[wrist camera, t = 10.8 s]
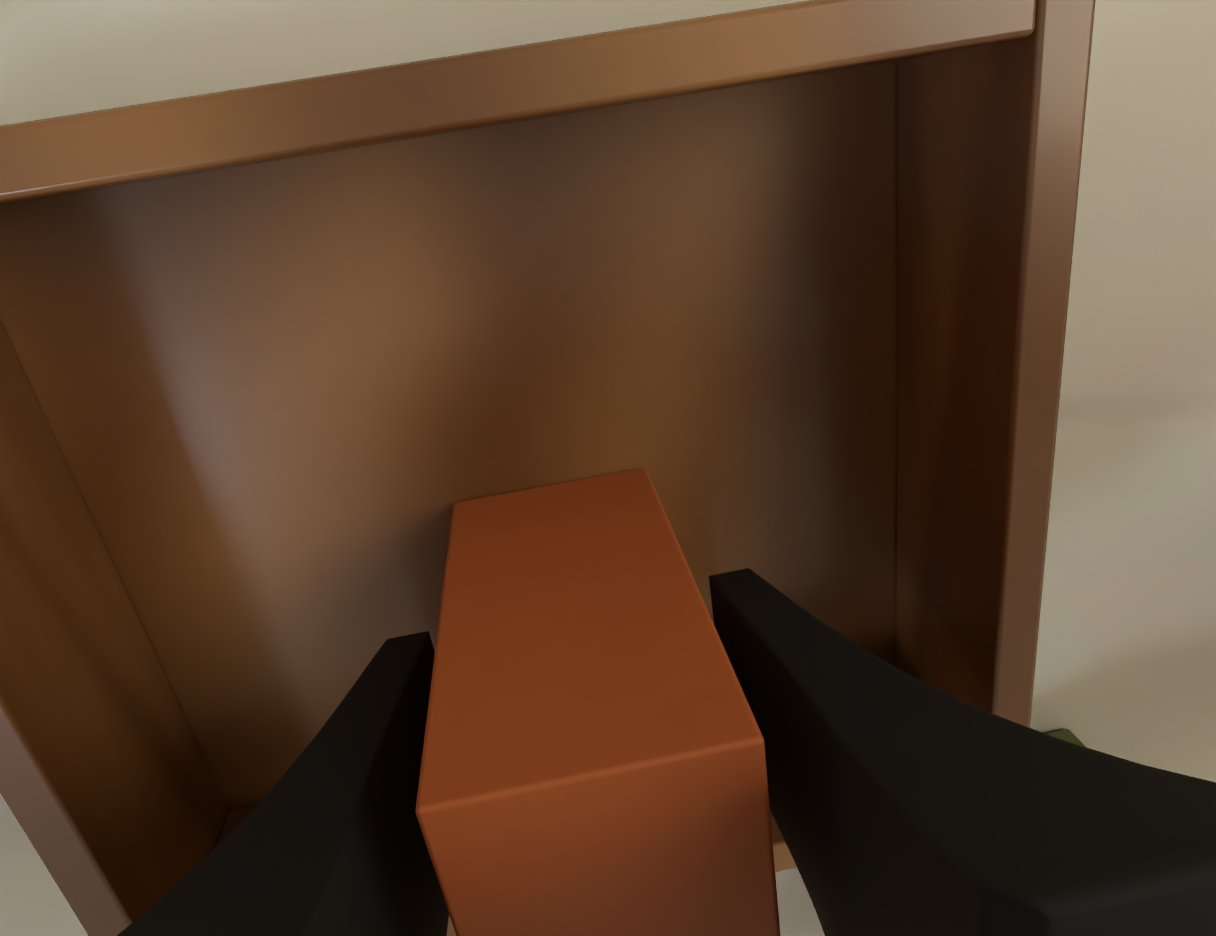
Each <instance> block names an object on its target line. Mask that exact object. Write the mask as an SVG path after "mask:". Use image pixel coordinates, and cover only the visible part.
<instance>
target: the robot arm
mask: <svg viewBox="0 0 1216 936" xmlns="http://www.w3.org/2000/svg"><path fill="white" fill-rule="evenodd" d="M709 584H710V593H711V602H712V611H713V620H714V626H715V628H716V630H717V633H718V635H719V637H720V640H721V642H722V644H723V647H724V649H725V651H726V653H727V656H728V658H729V660H730V663H731V665H732V667H733V670H734V672H735V674H736V676H737V679H738V681H739V683H740V686H741V688H742V690H743V692H744V695H745V697H746V699H747V702H748V704H749V706H750V709H751V711H752V713H753V715H754V718H755V720H756V722H757V725H758V727H759V729H760V732H761V734H762V736H763V738H764V745H765V758H766V770H767V782H768V794H769V806H770V811H771V813H772V815H773V817H774V819H775V821H776V823H777V825H778V828H779V830H780V832H781V834H782V836H783V838H784V840H785V842H786V845H787V847H788V849H789V851H790V853H791V855H792V857H793V860H794V862H795V864H796V866H797V868H798V870H799V872H800V874H801V877H802V879H803V881H804V883H805V886H806V888H807V891H808V893H809V895H810V898H811V900H812V902H813V905H814V907H815V910H816V912H817V915H818V918H819V920H820V923H821V926H822V929H823V932H824V934H825V936H1216V783H1215V782H1211V781H1207V780H1202V779H1198V778H1194V777H1190V776H1186V775H1182V774H1178V773H1174V772H1170V771H1166V770H1161V769H1157V768H1153V767H1149V766H1145V765H1142V764H1138V763H1135V762H1131V761H1128V760H1125V759H1121V758H1118V757H1115V756H1112V755H1108V754H1105V753H1102V752H1099V751H1095V750H1092V749H1089V748H1086V747H1082V746H1079V745H1076V744H1073V743H1070V742H1067V741H1064V740H1062V739H1059V738H1056V737H1053V736H1050V735H1047V734H1044V733H1041V732H1039V731H1036V730H1033V729H1031V728H1028V727H1026V726H1023V725H1020V724H1018V723H1015V722H1013V721H1010V720H1008V719H1005V718H1003V717H1000V716H997V715H995V714H992V713H990V712H987V711H985V710H983V709H980V708H978V707H976V706H973V705H971V704H969V703H966V702H964V701H962V700H960V699H958V698H956V697H953V696H951V695H949V694H947V693H945V692H943V691H941V690H939V689H937V688H935V687H933V686H931V685H929V684H927V683H925V682H922V681H920V680H918V679H916V678H914V677H913V676H911V675H909V674H907V673H905V672H903V671H901V670H899V669H898V668H896V667H894V666H892V665H891V664H889V663H887V662H885V661H884V660H882V659H880V658H879V657H877V656H875V655H873V654H872V653H870V652H868V651H867V650H865V649H863V648H862V647H860V646H858V645H857V644H855V643H854V642H852V641H850V640H849V639H847V638H846V637H844V636H843V635H841V634H840V633H838V632H837V631H835V630H834V629H832V628H831V627H829V626H828V625H826V624H825V623H823V622H822V621H820V620H819V619H817V618H816V617H815V616H813V615H812V614H810V613H809V612H808V611H806V610H805V609H803V608H802V607H801V606H799V605H798V604H797V603H795V602H794V601H793V600H791V599H790V598H788V597H787V596H786V595H784V594H783V593H782V592H780V591H779V590H778V589H776V588H775V587H774V586H772V585H771V584H770V583H768V582H767V581H766V580H764V579H763V578H762V577H760V576H759V575H758V574H756V573H755V572H753V571H752V570H751V569H749V568H746V569H741V570H736V571H731V572H726V573H721V574H716V575H711V576H709ZM434 656H435V651H434V648H433V644H432V641H431V637H430V634H429V631H425V632H420V633H415V634H410V635H405V636H400V637H395V638H390V639H387V640H386V641H385V642H384V644H383V645H382V646H381V648H380V649H379V650H378V652H377V653H376V654H375V656H374V657H373V658H372V660H371V661H370V663H369V664H368V665H367V667H366V668H365V670H364V671H363V672H362V674H361V675H360V677H359V678H358V679H357V681H356V682H355V684H354V685H353V686H352V688H351V689H350V690H349V692H348V693H347V695H346V696H345V697H344V699H343V700H342V702H341V703H340V704H339V706H338V707H337V708H336V710H335V711H334V712H333V714H332V715H331V716H330V718H329V719H328V720H327V722H326V723H325V724H324V726H323V727H322V728H321V729H320V731H319V732H318V733H317V735H316V736H315V737H314V739H313V740H312V741H311V742H310V744H309V745H308V746H307V747H306V748H305V750H304V751H303V752H302V753H301V754H300V756H299V757H298V758H297V759H296V760H295V762H294V763H293V764H292V765H291V766H290V768H289V769H288V770H287V771H286V772H285V774H284V775H283V776H282V777H281V778H280V780H279V781H278V782H277V783H276V784H275V786H274V787H273V788H272V789H271V790H270V791H269V792H268V794H267V795H266V796H265V797H264V798H263V799H262V800H261V801H260V802H259V804H258V805H257V806H256V807H255V808H254V809H253V810H252V811H251V812H250V813H249V814H248V815H247V816H246V817H245V818H244V820H243V821H242V822H241V823H240V824H239V825H238V826H237V827H236V828H235V829H234V830H233V831H232V832H231V833H230V834H229V835H228V836H227V837H226V838H225V839H224V840H223V841H222V842H221V843H220V844H219V845H218V846H217V847H216V848H215V849H214V850H213V851H212V852H211V853H210V854H209V855H207V856H206V857H205V858H204V859H203V860H202V861H201V862H200V863H199V864H198V865H197V866H196V867H195V868H193V869H192V870H191V871H190V872H189V873H188V874H187V875H186V876H184V877H183V878H182V879H181V880H180V881H179V882H178V883H177V884H175V885H174V886H173V887H172V888H171V889H170V890H169V891H168V892H167V893H165V894H164V895H163V896H162V897H161V898H160V899H159V900H158V901H156V902H155V903H154V904H153V905H152V906H151V907H150V908H149V909H147V910H146V911H145V912H144V913H143V914H142V915H141V916H140V917H138V918H137V919H136V920H135V921H134V922H133V923H131V924H130V925H129V926H128V927H127V928H125V929H124V930H123V931H122V932H120V933H119V934H118V935H117V936H447V928H448V920H449V912H448V909H447V906H446V903H445V900H444V897H443V894H442V891H441V888H440V885H439V882H438V879H437V876H436V873H435V870H434V867H433V864H432V861H431V858H430V855H429V852H428V849H427V846H426V843H425V840H424V837H423V834H422V831H421V827H420V824H419V821H418V818H417V815H416V812H415V810H416V802H417V794H418V786H419V778H420V770H421V762H422V753H423V745H424V737H425V729H426V721H427V713H428V704H429V696H430V688H431V680H432V672H433V664H434Z"/></svg>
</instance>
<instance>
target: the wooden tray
mask: <svg viewBox="0 0 1216 936" xmlns="http://www.w3.org/2000/svg"><path fill="white" fill-rule="evenodd" d="M1094 10H1095V0H810V1H804V2H797V3H791V4H784V5H778V6H771V7H765V8H758V9H752V10H745V11H739V12H733V13H726V14H720V15H713V16H707V17H700V18H694V19H687V20H681V21H674V22H668V23H662V24H655V25H649V26H642V27H636V28H629V29H623V30H616V31H610V32H603V33H597V34H591V35H584V36H578V37H571V38H565V39H558V40H552V41H545V42H539V43H532V44H526V45H520V46H513V47H507V48H500V49H494V50H487V51H481V52H474V53H468V54H461V55H455V56H449V57H442V58H436V59H429V60H423V61H416V62H410V63H403V64H397V65H390V66H384V67H378V68H371V69H365V70H358V71H352V72H345V73H339V74H332V75H326V76H319V77H313V78H307V79H300V80H294V81H287V82H281V83H274V84H268V85H261V86H255V87H248V88H242V89H236V90H229V91H223V92H216V93H210V94H203V95H197V96H190V97H184V98H177V99H171V100H165V101H158V102H152V103H145V104H139V105H132V106H126V107H119V108H113V109H106V110H100V111H94V112H87V113H81V114H74V115H68V116H61V117H55V118H48V119H42V120H35V121H29V122H23V123H16V124H10V125H3V126H0V793H1V794H2V796H3V797H4V799H5V801H6V802H7V804H8V806H9V807H10V809H11V810H12V812H13V814H14V815H15V817H16V819H17V820H18V822H19V823H20V825H21V827H22V828H23V830H24V832H25V833H26V835H27V836H28V838H29V840H30V841H31V843H32V844H33V846H34V848H35V849H36V851H37V853H38V854H39V856H40V857H41V859H42V861H43V862H44V864H45V866H46V867H47V869H48V870H49V872H50V874H51V875H52V877H53V879H54V880H55V882H56V883H57V885H58V887H59V888H60V890H61V891H62V893H63V895H64V896H65V898H66V900H67V901H68V903H69V904H70V906H71V908H72V909H73V911H74V913H75V914H76V916H77V917H78V919H79V921H80V922H81V924H82V926H83V927H84V929H85V930H86V932H87V934H88V935H89V936H117V935H118V934H119V933H120V932H122V931H123V930H124V929H125V928H127V927H128V926H129V925H130V924H131V923H133V922H134V921H135V920H136V919H137V918H138V917H140V916H141V915H142V914H143V913H144V912H145V911H146V910H147V909H149V908H150V907H151V906H152V905H153V904H154V903H155V902H156V901H158V900H159V899H160V898H161V897H162V896H163V895H164V894H165V893H167V892H168V891H169V890H170V889H171V888H172V887H173V886H174V885H175V884H177V883H178V882H179V881H180V880H181V879H182V878H183V877H184V876H186V875H187V874H188V873H189V872H190V871H191V870H192V869H193V868H195V867H196V866H197V865H198V864H199V863H200V862H201V861H202V860H203V859H204V858H205V857H206V856H207V855H209V854H210V853H211V852H212V851H213V850H214V849H215V848H216V847H217V846H218V845H219V844H220V843H221V842H222V841H223V840H224V839H225V838H226V837H227V836H228V835H229V834H230V833H231V832H232V831H233V830H234V829H235V828H236V827H237V826H238V825H239V824H240V823H241V822H242V821H243V820H244V818H245V817H246V816H247V815H248V814H249V813H250V812H251V811H252V810H253V809H254V808H255V807H256V806H257V805H258V804H259V802H260V801H261V800H262V799H263V798H264V797H265V796H266V795H267V794H268V792H269V791H270V790H271V789H272V788H273V787H274V786H275V784H276V783H277V782H278V781H279V780H280V778H281V777H282V776H283V775H284V774H285V772H286V771H287V770H288V769H289V768H290V766H291V765H292V764H293V763H294V762H295V760H296V759H297V758H298V757H299V756H300V754H301V753H302V752H303V751H304V750H305V748H306V747H307V746H308V745H309V744H310V742H311V741H312V740H313V739H314V737H315V736H316V735H317V733H318V732H319V731H320V729H321V728H322V727H323V726H324V724H325V723H326V722H327V720H328V719H329V718H330V716H331V715H332V714H333V712H334V711H335V710H336V708H337V707H338V706H339V704H340V703H341V702H342V700H343V699H344V697H345V696H346V695H347V693H348V692H349V690H350V689H351V688H352V686H353V685H354V684H355V682H356V681H357V679H358V678H359V677H360V675H361V674H362V672H363V671H364V670H365V668H366V667H367V665H368V664H369V663H370V661H371V660H372V658H373V657H374V656H375V654H376V653H377V652H378V650H379V649H380V648H381V646H382V645H383V644H384V642H385V641H386V640H387V639H390V638H395V637H400V636H405V635H410V634H415V633H420V632H425V631H429V634H430V637H431V641H432V644H433V648H434V651H435V647H436V639H437V631H438V623H439V615H440V607H441V599H442V590H443V582H444V574H445V566H446V558H447V550H448V541H449V533H450V525H451V517H452V509H453V504H454V503H456V502H461V501H466V500H472V499H477V498H483V497H488V496H493V495H499V494H504V493H510V492H515V491H520V490H526V489H531V488H537V487H542V486H547V485H553V484H558V483H564V482H569V481H575V480H580V479H585V478H591V477H596V476H602V475H607V474H612V473H618V472H623V471H629V470H634V469H639V468H645V469H646V470H647V472H648V474H649V477H650V479H651V481H652V483H653V486H654V488H655V490H656V493H657V495H658V497H659V500H660V502H661V504H662V506H663V509H664V511H665V513H666V516H667V518H668V520H669V523H670V525H671V527H672V529H673V532H674V534H675V536H676V539H677V541H678V543H679V545H680V548H681V550H682V552H683V555H684V557H685V559H686V562H687V564H688V566H689V568H690V571H691V573H692V575H693V578H694V580H695V582H696V585H697V587H698V589H699V591H700V594H701V596H702V598H703V601H704V603H705V605H706V608H707V610H708V612H709V614H710V617H711V619H712V621H713V624H714V620H713V611H712V602H711V593H710V584H709V576H711V575H716V574H721V573H726V572H731V571H736V570H741V569H746V568H749V569H751V570H752V571H753V572H755V573H756V574H758V575H759V576H760V577H762V578H763V579H764V580H766V581H767V582H768V583H770V584H771V585H772V586H774V587H775V588H776V589H778V590H779V591H780V592H782V593H783V594H784V595H786V596H787V597H788V598H790V599H791V600H793V601H794V602H795V603H797V604H798V605H799V606H801V607H802V608H803V609H805V610H806V611H808V612H809V613H810V614H812V615H813V616H815V617H816V618H817V619H819V620H820V621H822V622H823V623H825V624H826V625H828V626H829V627H831V628H832V629H834V630H835V631H837V632H838V633H840V634H841V635H843V636H844V637H846V638H847V639H849V640H850V641H852V642H854V643H855V644H857V645H858V646H860V647H862V648H863V649H865V650H867V651H868V652H870V653H872V654H873V655H875V656H877V657H879V658H880V659H882V660H884V661H885V662H887V663H889V664H891V665H892V666H894V667H896V668H898V669H899V670H901V671H903V672H905V673H907V674H909V675H911V676H913V677H914V678H916V679H918V680H920V681H922V682H925V683H927V684H929V685H931V686H933V687H935V688H937V689H939V690H941V691H943V692H945V693H947V694H949V695H951V696H953V697H956V698H958V699H960V700H962V701H964V702H966V703H969V704H971V705H973V706H976V707H978V708H980V709H983V710H985V711H987V712H990V713H992V714H995V715H997V716H1000V717H1003V718H1005V719H1008V720H1010V721H1013V722H1015V723H1018V724H1020V725H1023V726H1026V727H1028V728H1030V718H1031V707H1032V696H1033V685H1034V673H1035V662H1036V651H1037V640H1038V629H1039V618H1040V607H1041V596H1042V585H1043V574H1044V563H1045V552H1046V541H1047V530H1048V519H1049V507H1050V496H1051V485H1052V474H1053V463H1054V452H1055V441H1056V430H1057V419H1058V408H1059V397H1060V386H1061V375H1062V364H1063V353H1064V342H1065V330H1066V319H1067V308H1068V297H1069V286H1070V275H1071V264H1072V253H1073V242H1074V231H1075V220H1076V209H1077V198H1078V187H1079V176H1080V164H1081V153H1082V142H1083V131H1084V120H1085V109H1086V98H1087V87H1088V76H1089V65H1090V54H1091V43H1092V32H1093V21H1094ZM770 818H771V830H772V842H773V854H774V866H775V872H779V871H783V870H788V869H792V868H797V866H796V864H795V862H794V860H793V857H792V855H791V853H790V851H789V849H788V847H787V845H786V842H785V840H784V838H783V836H782V834H781V832H780V830H779V828H778V825H777V823H776V821H775V819H774V817H773V815H772V813H771V811H770ZM447 936H456V933H455V930H454V927H453V924H452V921H451V918H450V915H449V920H448V928H447Z"/></svg>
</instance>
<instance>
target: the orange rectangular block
mask: <svg viewBox="0 0 1216 936" xmlns="http://www.w3.org/2000/svg"><path fill="white" fill-rule="evenodd" d="M415 812H416V815H417V818H418V821H419V824H420V827H421V831H422V834H423V837H424V840H425V843H426V846H427V849H428V852H429V855H430V858H431V861H432V864H433V867H434V870H435V873H436V876H437V879H438V882H439V885H440V888H441V891H442V894H443V897H444V900H445V903H446V906H447V909H448V912H449V915H450V918H451V921H452V924H453V927H454V930H455V933H456V936H780V927H779V914H778V902H777V890H776V878H775V866H774V854H773V842H772V830H771V818H770V806H769V794H768V782H767V770H766V758H765V745H764V738H763V736H762V734H761V732H760V729H759V727H758V725H757V722H756V720H755V718H754V715H753V713H752V711H751V709H750V706H749V704H748V702H747V699H746V697H745V695H744V692H743V690H742V688H741V686H740V683H739V681H738V679H737V676H736V674H735V672H734V670H733V667H732V665H731V663H730V660H729V658H728V656H727V653H726V651H725V649H724V647H723V644H722V642H721V640H720V637H719V635H718V633H717V630H716V628H715V626H714V624H713V621H712V619H711V617H710V614H709V612H708V610H707V608H706V605H705V603H704V601H703V598H702V596H701V594H700V591H699V589H698V587H697V585H696V582H695V580H694V578H693V575H692V573H691V571H690V568H689V566H688V564H687V562H686V559H685V557H684V555H683V552H682V550H681V548H680V545H679V543H678V541H677V539H676V536H675V534H674V532H673V529H672V527H671V525H670V523H669V520H668V518H667V516H666V513H665V511H664V509H663V506H662V504H661V502H660V500H659V497H658V495H657V493H656V490H655V488H654V486H653V483H652V481H651V479H650V477H649V474H648V472H647V470H646V469H645V468H639V469H634V470H629V471H623V472H618V473H612V474H607V475H602V476H596V477H591V478H585V479H580V480H575V481H569V482H564V483H558V484H553V485H547V486H542V487H537V488H531V489H526V490H520V491H515V492H510V493H504V494H499V495H493V496H488V497H483V498H477V499H472V500H466V501H461V502H456V503H454V504H453V509H452V517H451V525H450V533H449V541H448V550H447V558H446V566H445V574H444V582H443V590H442V599H441V607H440V615H439V623H438V631H437V639H436V647H435V656H434V664H433V672H432V680H431V688H430V696H429V704H428V713H427V721H426V729H425V737H424V745H423V753H422V762H421V770H420V778H419V786H418V794H417V802H416V810H415Z"/></svg>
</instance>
